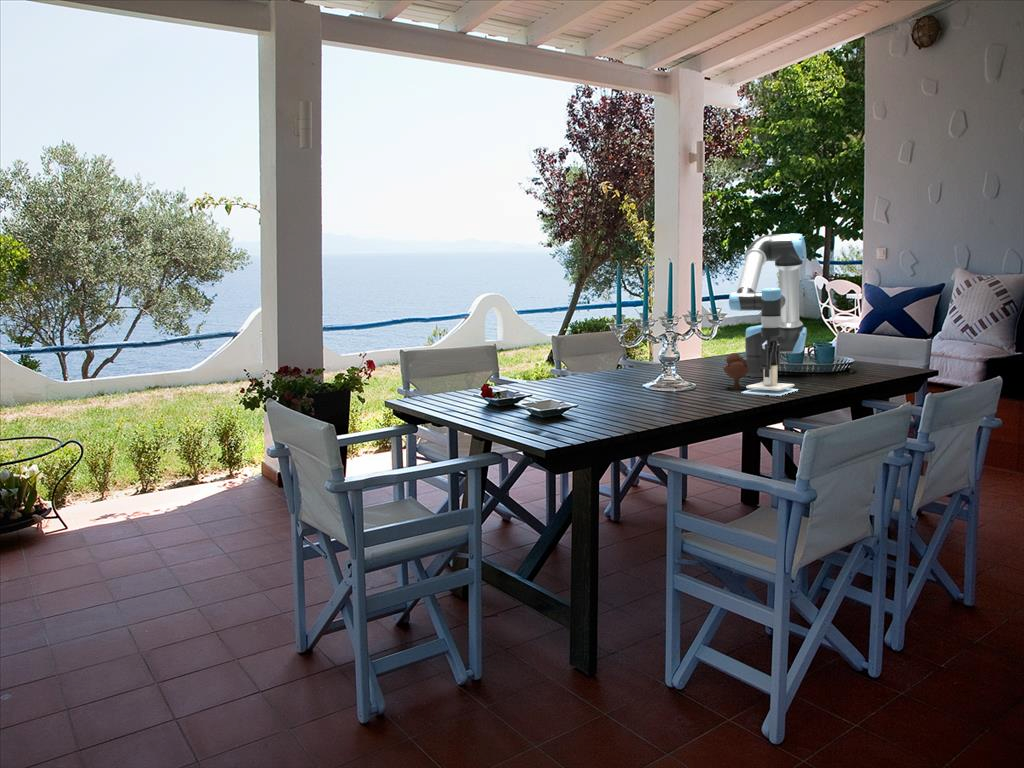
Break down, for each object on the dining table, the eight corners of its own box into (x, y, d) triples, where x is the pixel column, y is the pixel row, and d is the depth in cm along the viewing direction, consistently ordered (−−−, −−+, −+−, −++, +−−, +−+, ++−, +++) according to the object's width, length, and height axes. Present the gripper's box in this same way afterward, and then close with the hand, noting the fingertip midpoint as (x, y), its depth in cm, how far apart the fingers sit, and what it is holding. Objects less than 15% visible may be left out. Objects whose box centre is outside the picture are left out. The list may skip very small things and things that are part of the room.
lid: (762, 383, 353) (762, 362, 352) (794, 386, 344) (794, 364, 342) (746, 387, 343) (746, 366, 342) (779, 390, 333) (779, 368, 332)
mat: (761, 387, 355) (761, 386, 355) (798, 390, 345) (798, 389, 345) (741, 393, 342) (741, 392, 342) (779, 396, 332) (779, 395, 331)
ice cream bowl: (744, 391, 348) (744, 354, 346) (718, 389, 355) (718, 353, 353) (754, 387, 357) (754, 352, 354) (728, 386, 363) (729, 351, 361)
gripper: (771, 324, 349) (771, 381, 352) (752, 328, 336) (751, 386, 339) (789, 325, 344) (788, 382, 347) (770, 328, 331) (769, 387, 334)
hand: (770, 384), depth 343 cm, fingers closed on lid, 4 cm apart
